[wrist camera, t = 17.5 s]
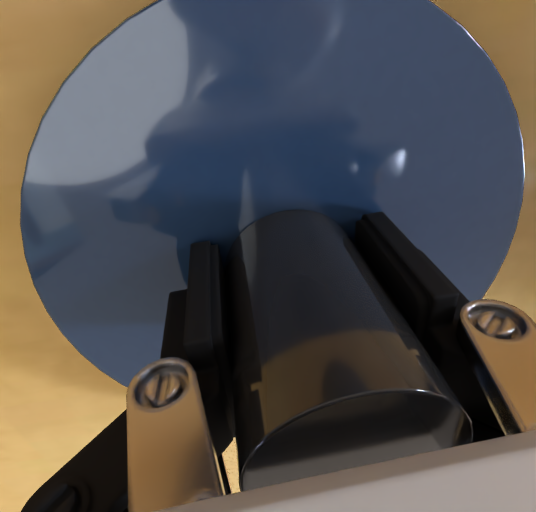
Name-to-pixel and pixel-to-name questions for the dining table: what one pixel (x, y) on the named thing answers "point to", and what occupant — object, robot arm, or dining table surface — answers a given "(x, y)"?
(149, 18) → the lid
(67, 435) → the dining table surface
